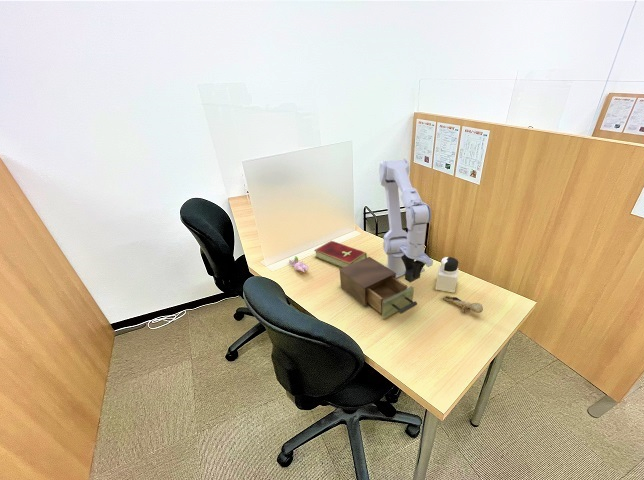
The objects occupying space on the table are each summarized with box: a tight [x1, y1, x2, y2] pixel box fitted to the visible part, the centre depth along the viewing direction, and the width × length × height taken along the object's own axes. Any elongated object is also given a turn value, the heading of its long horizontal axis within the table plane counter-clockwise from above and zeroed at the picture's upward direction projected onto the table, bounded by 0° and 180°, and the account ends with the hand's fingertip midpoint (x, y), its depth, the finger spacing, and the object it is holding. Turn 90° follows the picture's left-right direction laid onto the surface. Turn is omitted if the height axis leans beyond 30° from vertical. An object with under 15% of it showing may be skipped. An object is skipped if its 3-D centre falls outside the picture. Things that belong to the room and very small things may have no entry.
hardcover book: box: [314, 240, 368, 269], centre depth 131 cm, size 12×21×4 cm, turn 52°
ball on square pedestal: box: [435, 256, 459, 294], centre depth 109 cm, size 7×7×12 cm
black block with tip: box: [404, 267, 426, 284], centre depth 103 cm, size 8×3×3 cm, turn 127°
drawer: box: [366, 276, 418, 320], centre depth 101 cm, size 19×13×7 cm
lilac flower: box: [289, 255, 309, 273], centre depth 124 cm, size 6×6×15 cm
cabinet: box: [339, 256, 397, 308], centre depth 110 cm, size 16×15×9 cm
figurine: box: [442, 295, 484, 314], centre depth 100 cm, size 4×4×15 cm
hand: (412, 275), depth 103 cm, fingers closed on black block with tip, 3 cm apart
